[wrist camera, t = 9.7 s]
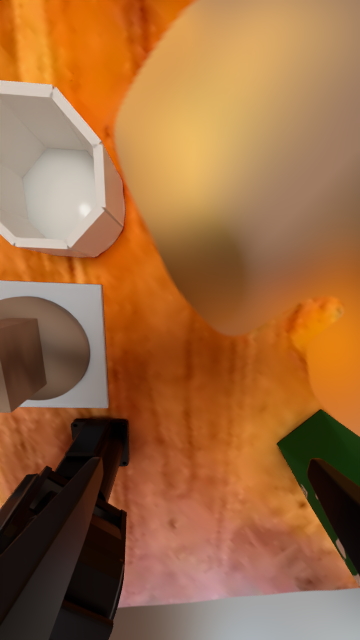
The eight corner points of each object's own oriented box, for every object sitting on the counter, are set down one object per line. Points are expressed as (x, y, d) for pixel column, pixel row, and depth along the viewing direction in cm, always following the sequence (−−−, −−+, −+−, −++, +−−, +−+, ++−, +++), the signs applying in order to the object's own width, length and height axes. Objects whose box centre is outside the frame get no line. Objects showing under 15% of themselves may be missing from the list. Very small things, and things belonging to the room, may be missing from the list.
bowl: (127, 259, 17) (107, 251, 12) (33, 255, 17) (-26, 244, 12) (124, 151, 15) (99, 88, 10) (17, 144, 15) (-61, 75, 10)
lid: (94, 395, 19) (66, 433, 15) (-7, 393, 19) (-69, 432, 14) (86, 298, 17) (50, 304, 12) (-29, 294, 17) (-114, 299, 12)
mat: (108, 405, 20) (107, 408, 20) (-15, 403, 20) (-19, 406, 19) (102, 284, 17) (100, 284, 17) (-44, 278, 17) (-49, 278, 16)
